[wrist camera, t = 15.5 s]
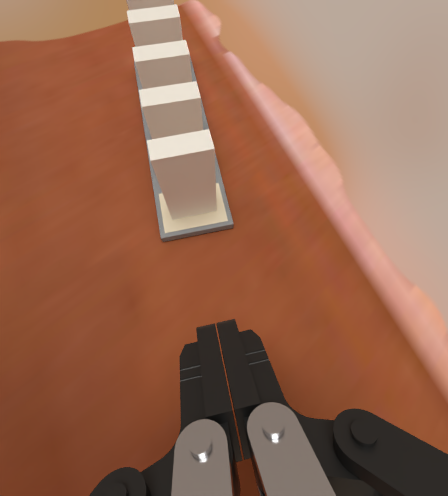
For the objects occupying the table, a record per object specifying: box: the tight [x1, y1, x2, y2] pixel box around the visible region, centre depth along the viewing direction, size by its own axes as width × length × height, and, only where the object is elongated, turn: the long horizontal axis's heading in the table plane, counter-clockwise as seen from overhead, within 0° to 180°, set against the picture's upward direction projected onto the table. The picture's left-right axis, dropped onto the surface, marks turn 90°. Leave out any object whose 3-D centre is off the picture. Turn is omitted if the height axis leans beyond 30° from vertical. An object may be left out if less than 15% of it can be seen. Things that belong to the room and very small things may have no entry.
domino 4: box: [139, 81, 203, 139], centre depth 28 cm, size 2×5×10 cm, turn 102°
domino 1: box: [127, 0, 174, 10], centre depth 34 cm, size 2×5×10 cm, turn 102°
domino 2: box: [127, 4, 183, 47], centre depth 32 cm, size 2×5×10 cm, turn 102°
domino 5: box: [147, 129, 217, 220], centre depth 26 cm, size 2×5×10 cm, turn 103°
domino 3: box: [132, 40, 192, 89], centre depth 30 cm, size 2×5×10 cm, turn 102°
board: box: [134, 58, 233, 242], centre depth 35 cm, size 28×8×1 cm, turn 12°
